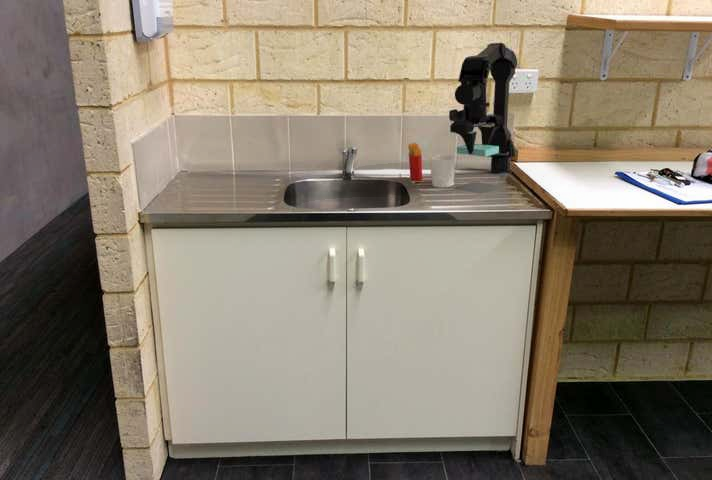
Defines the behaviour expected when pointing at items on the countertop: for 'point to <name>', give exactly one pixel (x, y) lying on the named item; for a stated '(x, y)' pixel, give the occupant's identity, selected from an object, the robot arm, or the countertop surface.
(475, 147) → the lid
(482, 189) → the mat
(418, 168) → the french fries
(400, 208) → the countertop surface
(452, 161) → the white cup
